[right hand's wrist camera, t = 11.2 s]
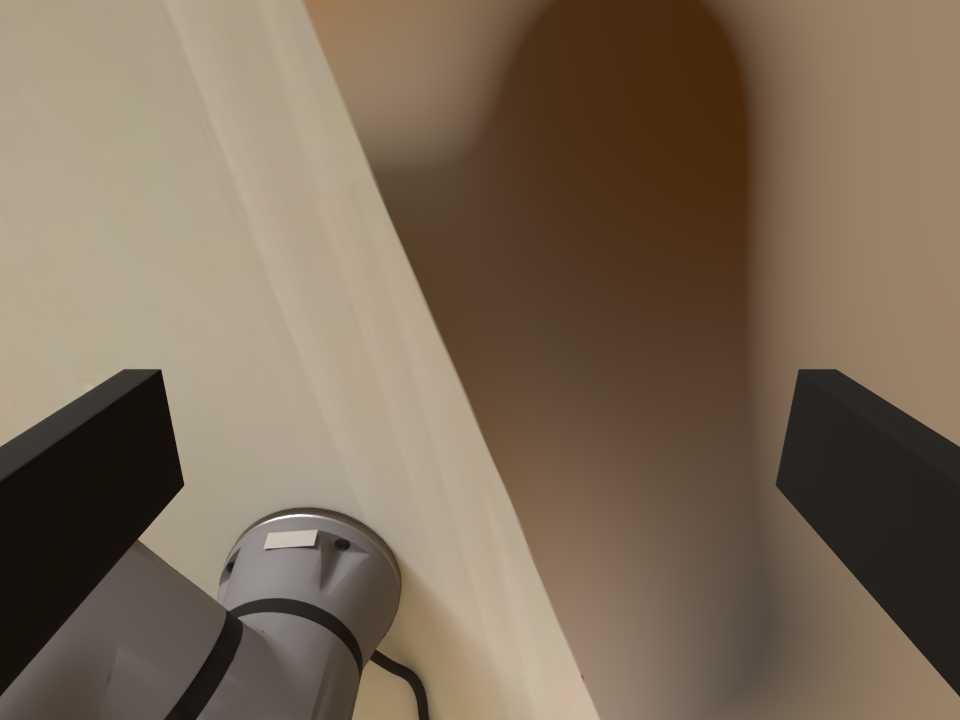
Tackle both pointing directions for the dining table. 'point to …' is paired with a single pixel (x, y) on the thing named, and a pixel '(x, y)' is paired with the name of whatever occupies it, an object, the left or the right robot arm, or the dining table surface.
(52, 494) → the right robot arm
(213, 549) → the dining table surface
